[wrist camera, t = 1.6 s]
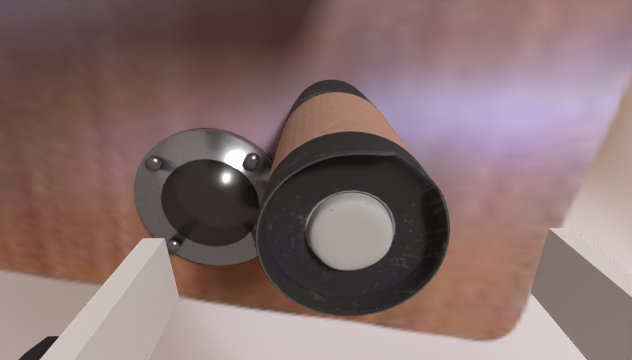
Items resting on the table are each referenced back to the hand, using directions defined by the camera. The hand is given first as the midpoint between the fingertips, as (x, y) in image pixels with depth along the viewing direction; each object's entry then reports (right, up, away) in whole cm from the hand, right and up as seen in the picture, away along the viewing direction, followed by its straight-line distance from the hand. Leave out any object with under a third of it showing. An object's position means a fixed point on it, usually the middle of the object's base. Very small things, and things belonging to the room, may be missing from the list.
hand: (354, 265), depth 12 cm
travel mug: (0, +9, +19) cm, 21 cm away
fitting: (-9, +1, +22) cm, 24 cm away
